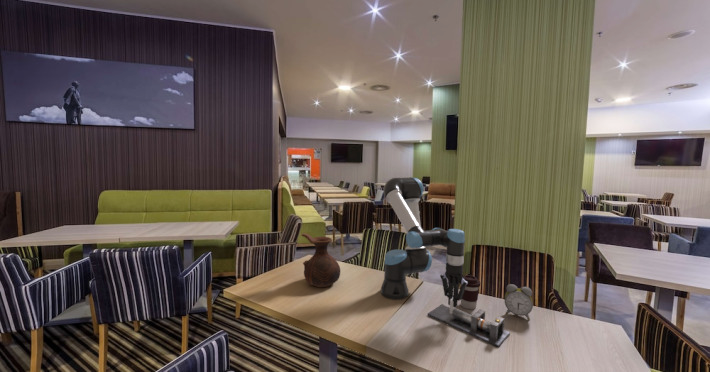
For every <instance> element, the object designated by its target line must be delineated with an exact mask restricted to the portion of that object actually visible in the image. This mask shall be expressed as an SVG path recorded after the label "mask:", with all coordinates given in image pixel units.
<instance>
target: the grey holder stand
mask: <svg viewBox="0 0 710 372" xmlns="http://www.w3.org/2000/svg"><path fill="white" fill-rule="evenodd" d="M449 311H450V306H446V305H445V304H441V305H439V306H436V307H435V308H434V309H432V310H430V311H429V312H428V313H427V316H428V317H430V318H432V319H434V320H437V321H439V322H441V323H443V324H445V325H447V324H448V326H449V327H451V328H455V329H456V330H459V331H461V332H463V333H465V334H467V335H469V336H471V337H474V338H475V339H479V340H480V341H482V342H485V343H487V344H490V345H491V346H493V347H496V348H499V347H500V346H501V345H502V344H503V343H504V342H505V341H506V339H507V338H508V337H509V336H510V334H511V332H510V331H508V330H506V329H505V317H502V316H497V317H496V318H494V320H493V321H492V322H491V326H490V332H487V331H485V330H482V329H480V328H478V319H479V318H481V319H484V320H486V319H485V318H486V311H485V310H483V309H481V308H480V309H478V310H476V311H475V312H474V313H473V314H471V315H472V316H471V324H469V323H466V322H464V321H462V320H459V319H457V318H455V317H453V315H452V314H451V313H449Z"/></svg>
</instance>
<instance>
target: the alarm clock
mask: <svg viewBox="0 0 710 372" xmlns="http://www.w3.org/2000/svg"><path fill="white" fill-rule="evenodd" d="M532 295H533V291H532V289H531V288H530V287H529V286H521V287H520V288H519V287H518V286H517V285H515V284H511V283H509V284H508V285H507V286H506V292H505V294H504V305H505V308H506V309H507V310H506V311H505V315H509V314H510V313H511V314H513V315H516V316H520V317H521V316H525V318H526V319H527V320H528V321H530V316H529V314H530V313H531V312H532V311H533V308H534V303H533V298H532Z"/></svg>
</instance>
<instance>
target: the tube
mask: <svg viewBox="0 0 710 372" xmlns="http://www.w3.org/2000/svg"><path fill="white" fill-rule="evenodd" d="M452 315H453V317H455V318H457V319H459V320H462V321H464V322H466V323H469V324H471V316H472V315H473V314H471V313H468V312H466V311H464V310H461V309H459V308H457V307H455V309H454V310H453V312H452ZM491 323H492V322H490V321H488V320H487V319H485V320H484V319H481V318H479V319H478V328H480V329H482V330H485V331H487V332H490V326H491Z"/></svg>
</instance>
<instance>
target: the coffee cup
mask: <svg viewBox="0 0 710 372" xmlns="http://www.w3.org/2000/svg"><path fill="white" fill-rule="evenodd" d="M463 277H464V278H463V279H464V280H465V281H468V284H467V285H466V287H465V290H464V293H463V297H462V299H461V300H460V305H461V307H462V308H465V309H467V310H475V309H476V307H477V302H478V299H479V291H480V289H479V288H480V287H481V280H479V279H478V278H477V277H476V276H474V275H471V274H466V275H465V274H463ZM461 283H462V281H461V282H460V283H459V286H460V287H461V285H462V284H461ZM460 287H459V288H460Z"/></svg>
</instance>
